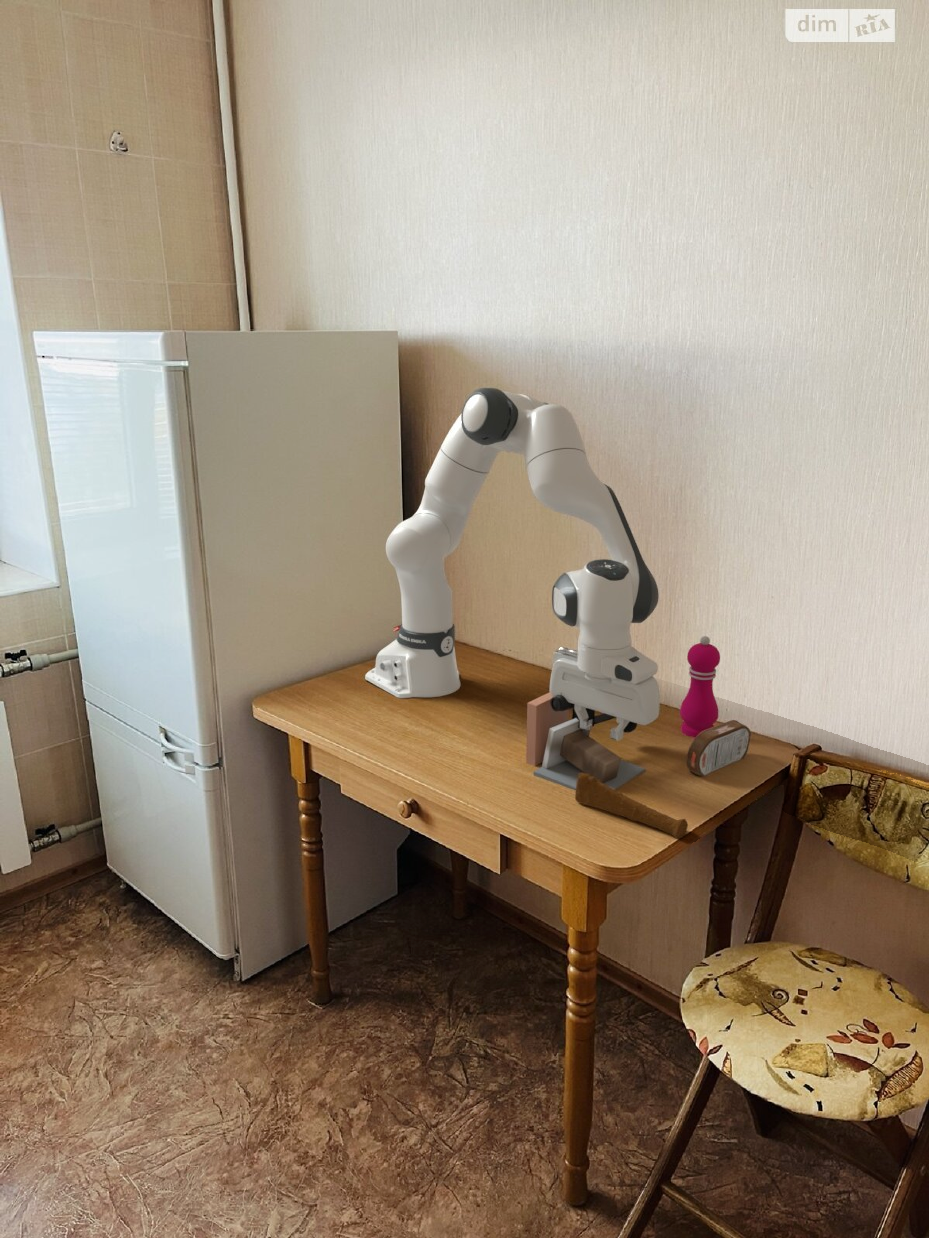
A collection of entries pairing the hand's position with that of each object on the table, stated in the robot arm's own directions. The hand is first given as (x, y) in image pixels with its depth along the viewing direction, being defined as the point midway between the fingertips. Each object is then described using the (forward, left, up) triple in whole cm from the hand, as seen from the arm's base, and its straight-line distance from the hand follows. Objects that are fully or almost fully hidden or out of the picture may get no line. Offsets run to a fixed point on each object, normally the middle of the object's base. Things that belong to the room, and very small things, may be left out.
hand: (600, 733), depth 159 cm
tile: (-12, +1, -9) cm, 15 cm away
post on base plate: (-8, +1, -4) cm, 9 cm away
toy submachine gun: (-5, +7, -10) cm, 13 cm away
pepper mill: (+4, +28, -9) cm, 30 cm away
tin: (+14, +17, -9) cm, 24 cm away
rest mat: (-2, 0, -9) cm, 9 cm away
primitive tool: (+9, -9, -11) cm, 17 cm away
